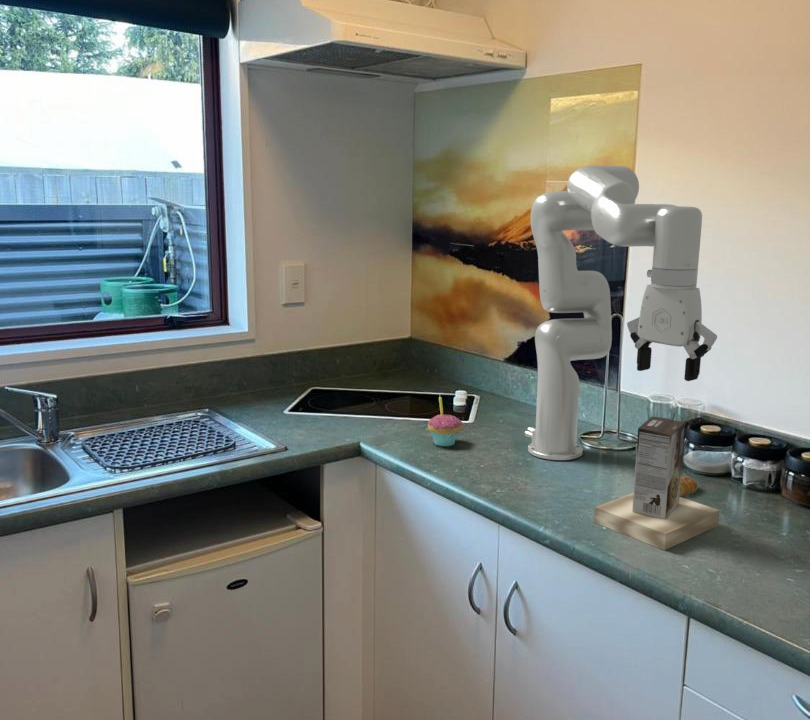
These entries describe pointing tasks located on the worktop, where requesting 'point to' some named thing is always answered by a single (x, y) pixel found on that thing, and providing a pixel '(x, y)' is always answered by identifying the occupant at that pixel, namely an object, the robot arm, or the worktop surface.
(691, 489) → the pastry
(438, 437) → the cupcake
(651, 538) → the birch base
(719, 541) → the worktop surface
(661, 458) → the coffee box
